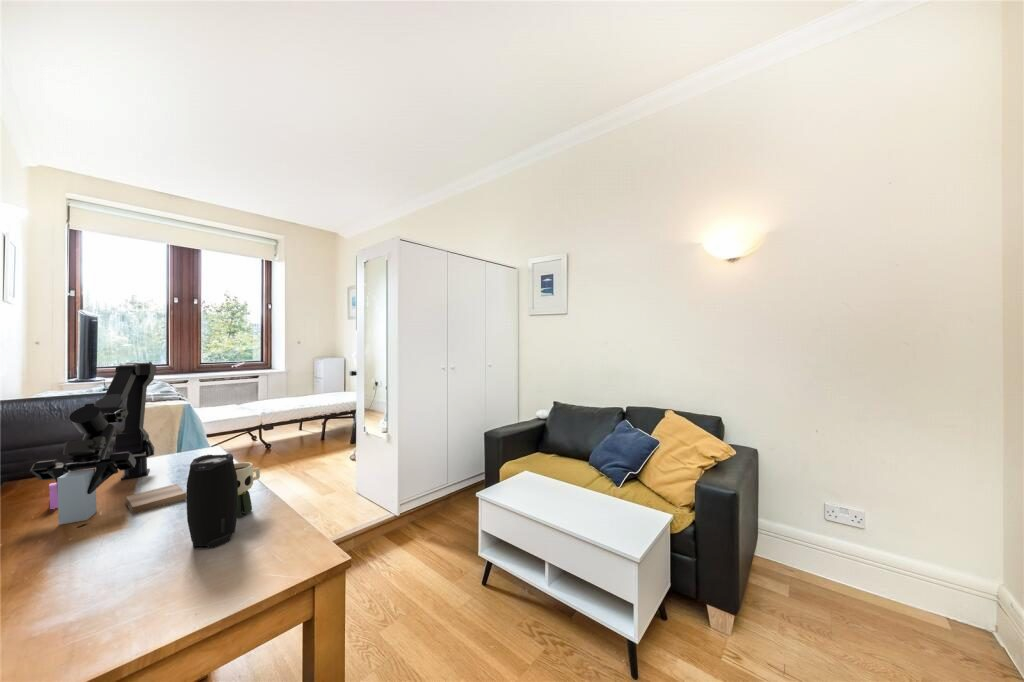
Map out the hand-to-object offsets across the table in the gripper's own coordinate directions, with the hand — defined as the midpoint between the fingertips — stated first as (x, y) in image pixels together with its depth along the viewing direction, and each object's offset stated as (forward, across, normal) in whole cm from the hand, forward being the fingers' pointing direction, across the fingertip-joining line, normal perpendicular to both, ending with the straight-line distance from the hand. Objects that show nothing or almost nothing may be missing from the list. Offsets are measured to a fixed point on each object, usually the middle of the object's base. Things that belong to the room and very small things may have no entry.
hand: (74, 495), depth 97 cm
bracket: (-8, -10, +18) cm, 22 cm away
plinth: (+2, +15, +8) cm, 17 cm away
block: (+4, 0, +6) cm, 7 cm away
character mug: (+16, +38, -7) cm, 41 cm away
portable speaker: (+25, +35, -16) cm, 46 cm away
